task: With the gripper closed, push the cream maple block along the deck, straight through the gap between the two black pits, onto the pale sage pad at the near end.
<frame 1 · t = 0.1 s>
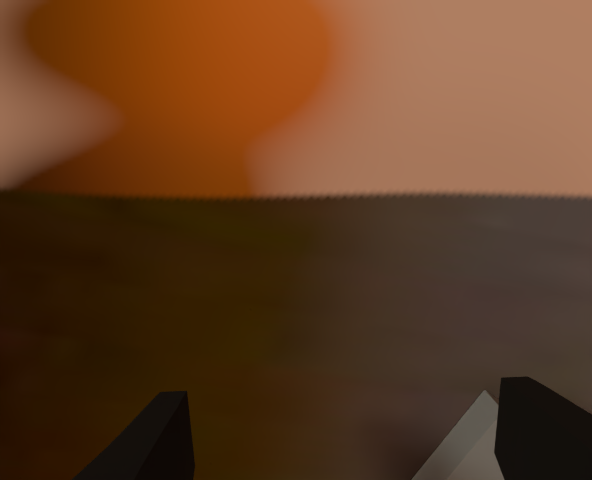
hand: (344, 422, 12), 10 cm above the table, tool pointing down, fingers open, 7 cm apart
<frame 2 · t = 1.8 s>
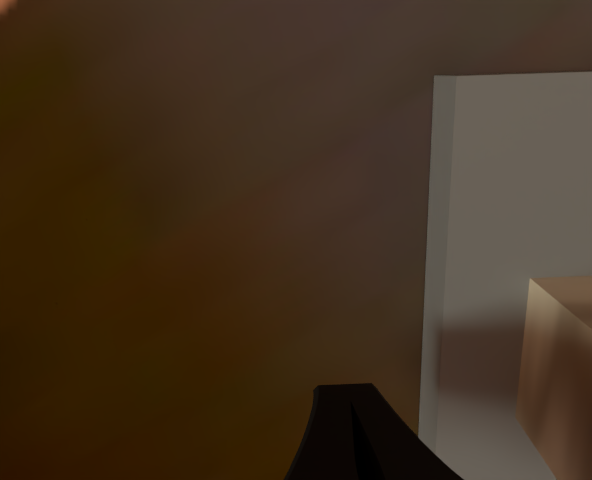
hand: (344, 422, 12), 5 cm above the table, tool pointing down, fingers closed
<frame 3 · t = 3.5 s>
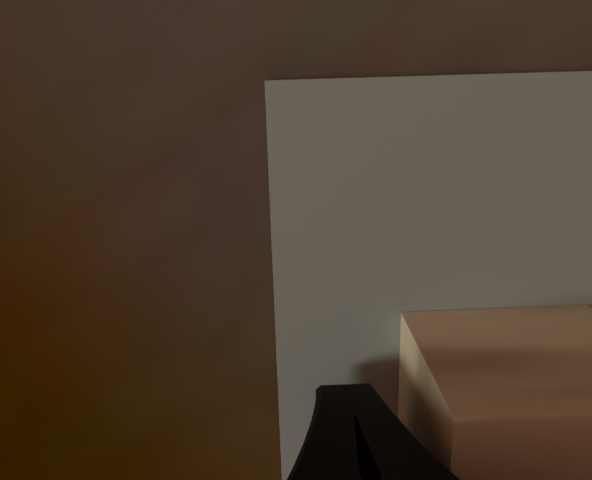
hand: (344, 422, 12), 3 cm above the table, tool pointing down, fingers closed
maple block: (487, 389, 13), point 2 cm above the table, touching gripper
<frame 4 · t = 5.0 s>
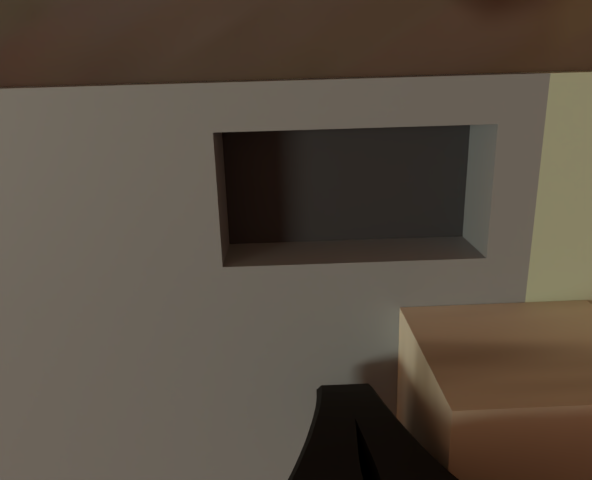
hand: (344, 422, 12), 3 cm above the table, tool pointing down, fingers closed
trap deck: (345, 355, 15), on the table
maple block: (486, 385, 13), point 2 cm above the table, touching gripper
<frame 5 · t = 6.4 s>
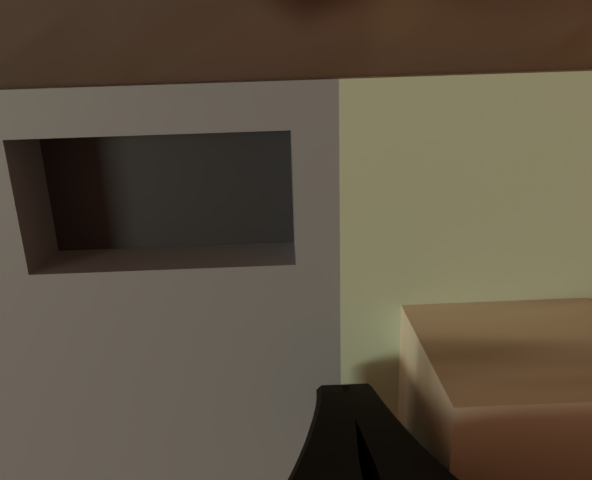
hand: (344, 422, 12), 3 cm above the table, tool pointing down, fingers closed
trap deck: (190, 361, 15), on the table
maple block: (487, 383, 13), point 2 cm above the table, touching gripper, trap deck
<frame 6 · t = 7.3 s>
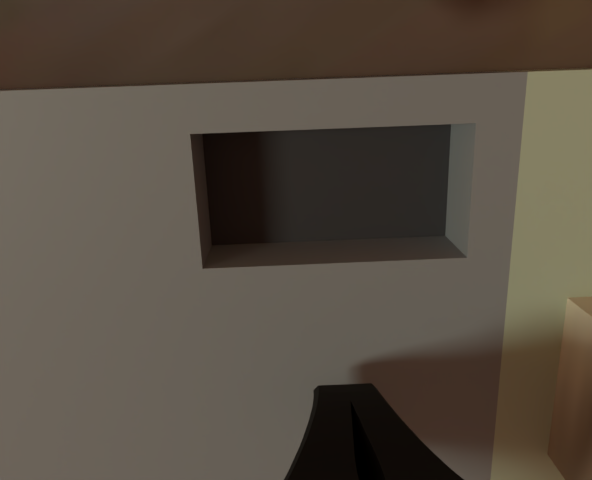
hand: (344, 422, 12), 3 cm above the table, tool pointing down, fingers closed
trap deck: (329, 355, 15), on the table
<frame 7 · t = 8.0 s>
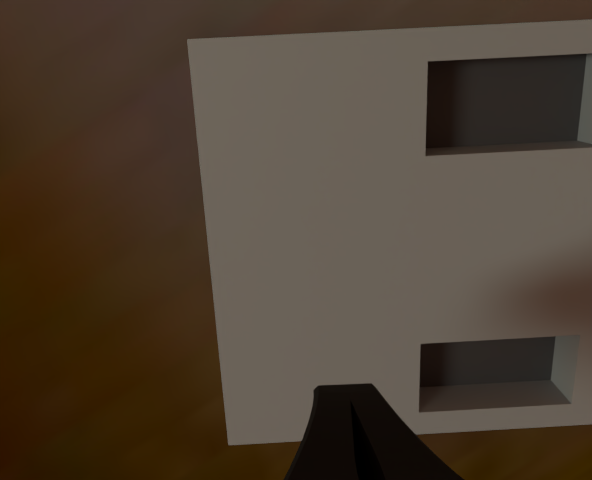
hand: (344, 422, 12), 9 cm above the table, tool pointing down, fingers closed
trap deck: (486, 234, 21), on the table
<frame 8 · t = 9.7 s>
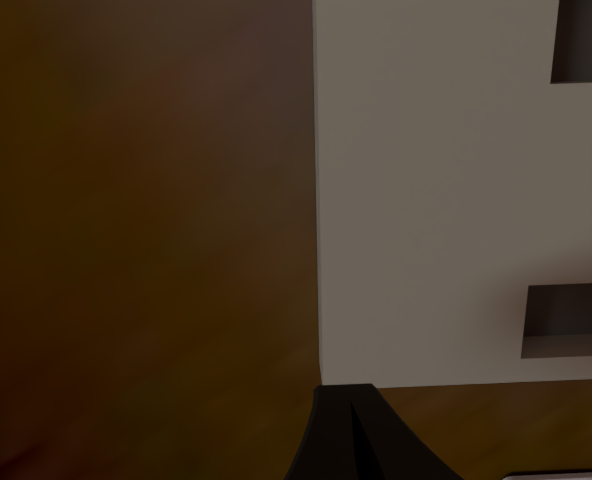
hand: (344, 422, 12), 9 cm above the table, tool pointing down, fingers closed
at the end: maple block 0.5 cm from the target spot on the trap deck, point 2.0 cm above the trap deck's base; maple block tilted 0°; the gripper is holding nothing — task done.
